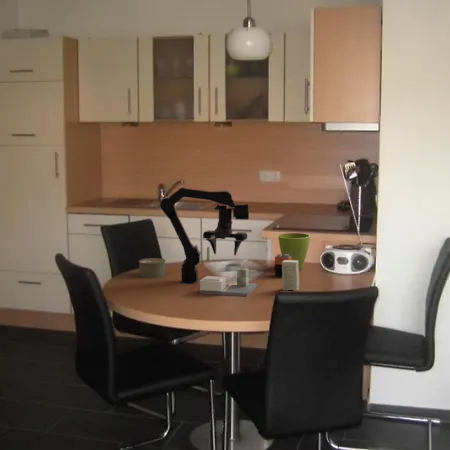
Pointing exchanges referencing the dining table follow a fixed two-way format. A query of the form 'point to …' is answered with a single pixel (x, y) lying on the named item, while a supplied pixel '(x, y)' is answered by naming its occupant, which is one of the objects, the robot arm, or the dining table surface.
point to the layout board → (234, 290)
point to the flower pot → (294, 246)
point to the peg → (242, 277)
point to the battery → (280, 263)
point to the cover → (213, 283)
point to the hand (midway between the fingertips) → (225, 254)
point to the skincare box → (290, 275)
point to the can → (152, 267)
